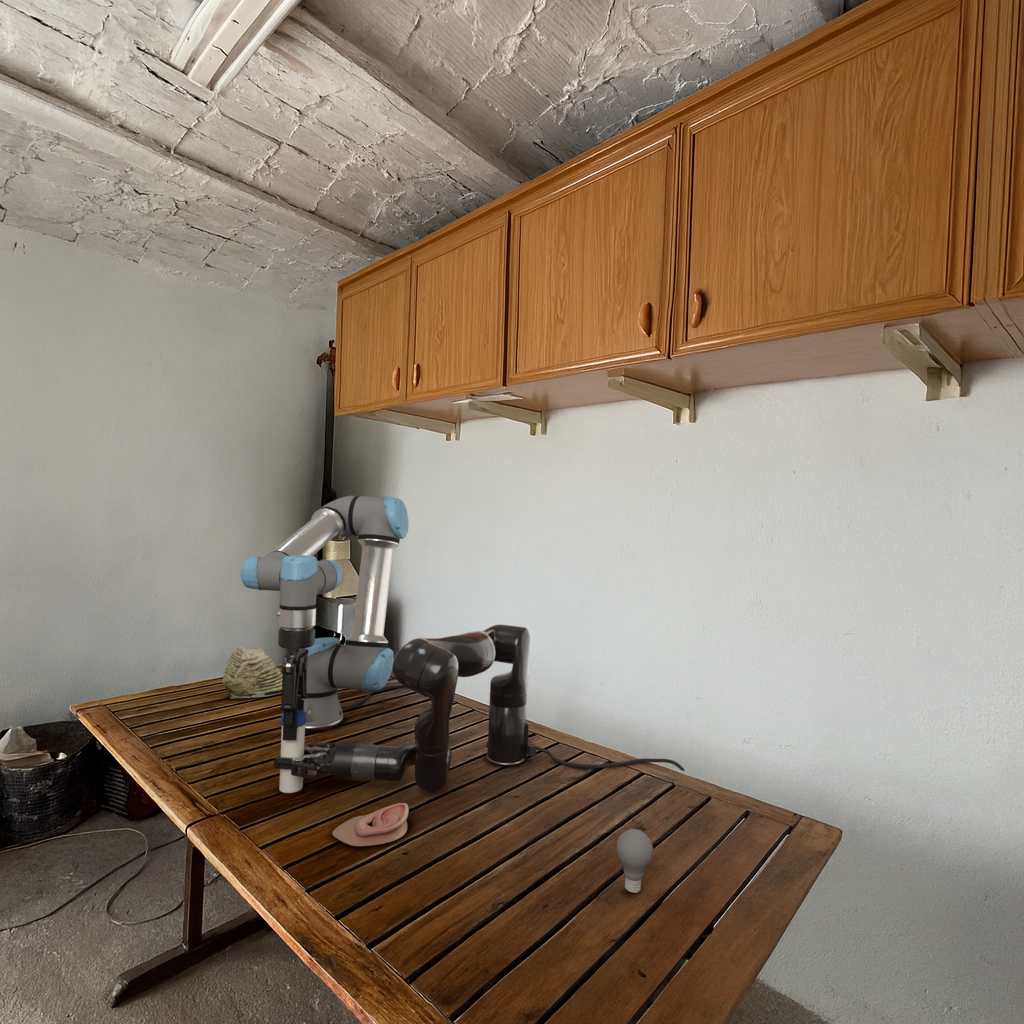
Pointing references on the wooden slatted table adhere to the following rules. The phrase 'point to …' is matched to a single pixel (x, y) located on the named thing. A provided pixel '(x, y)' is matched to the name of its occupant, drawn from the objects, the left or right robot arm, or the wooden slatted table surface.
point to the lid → (298, 718)
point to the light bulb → (634, 857)
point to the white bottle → (292, 751)
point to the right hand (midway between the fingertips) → (280, 757)
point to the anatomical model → (374, 826)
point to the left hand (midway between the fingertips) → (293, 734)
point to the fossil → (251, 674)
